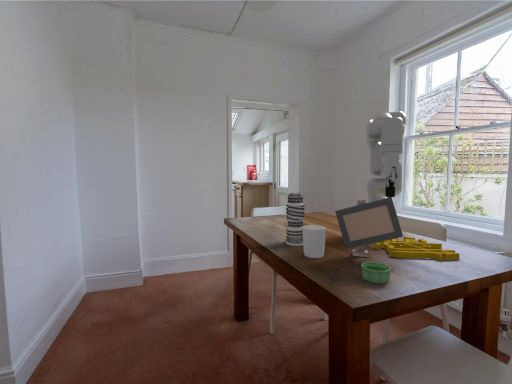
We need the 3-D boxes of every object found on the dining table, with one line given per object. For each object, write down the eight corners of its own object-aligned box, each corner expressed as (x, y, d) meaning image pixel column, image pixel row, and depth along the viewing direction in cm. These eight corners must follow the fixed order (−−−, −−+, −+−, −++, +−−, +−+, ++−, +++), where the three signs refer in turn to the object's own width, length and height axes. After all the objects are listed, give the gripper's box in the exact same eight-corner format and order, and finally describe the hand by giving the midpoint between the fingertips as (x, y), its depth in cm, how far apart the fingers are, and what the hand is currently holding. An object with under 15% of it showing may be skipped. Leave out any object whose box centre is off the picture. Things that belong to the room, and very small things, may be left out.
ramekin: (391, 286, 82) (392, 272, 81) (360, 282, 85) (360, 268, 85) (390, 276, 90) (390, 263, 90) (361, 272, 93) (361, 260, 93)
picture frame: (345, 247, 112) (335, 210, 112) (402, 235, 106) (390, 196, 106) (346, 248, 110) (335, 211, 110) (403, 236, 104) (391, 197, 104)
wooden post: (352, 253, 116) (353, 199, 114) (367, 254, 114) (368, 199, 113) (353, 256, 112) (354, 200, 110) (368, 257, 110) (370, 200, 108)
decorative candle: (303, 246, 127) (303, 194, 125) (283, 245, 130) (284, 193, 128) (305, 242, 135) (306, 192, 133) (287, 240, 138) (288, 192, 136)
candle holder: (300, 257, 110) (300, 228, 110) (304, 251, 120) (304, 224, 119) (324, 259, 107) (324, 230, 106) (326, 253, 116) (327, 225, 115)
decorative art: (365, 233, 142) (428, 236, 136) (365, 239, 142) (428, 241, 136) (382, 252, 109) (465, 256, 103) (382, 259, 109) (465, 263, 103)
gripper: (377, 152, 112) (376, 195, 113) (384, 148, 98) (383, 198, 99) (397, 151, 110) (395, 196, 111) (407, 147, 96) (405, 198, 97)
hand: (390, 197), depth 105 cm, fingers closed
